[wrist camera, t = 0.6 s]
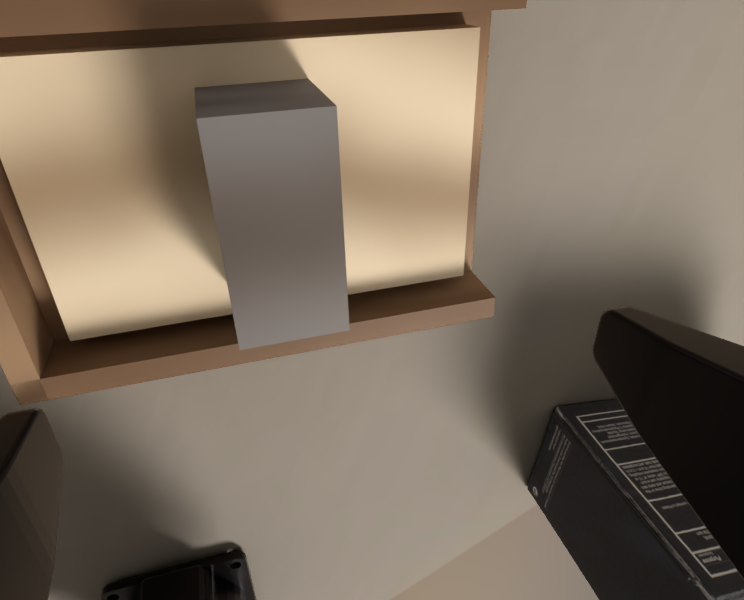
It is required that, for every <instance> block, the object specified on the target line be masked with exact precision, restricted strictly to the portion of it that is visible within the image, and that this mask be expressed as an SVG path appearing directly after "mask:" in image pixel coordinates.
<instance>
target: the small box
mask: <svg viewBox="0 0 744 600" xmlns="http://www.w3.org/2000/svg"><path fill="white" fill-rule="evenodd" d="M528 490H529V492H530V493H531V494H532V496H533V497H534V499H535V500H536V502H537V504H538V505H539V507H540V508H541V510H542V511H543V513H544V514H545V516H546V517H547V519H548V521H549V522H550V523H551V525H552V527H553V528H554V530H555V531H556V533H557V534H558V536H559V537H560V539H561V541H562V542H563V544H564V545H565V547H566V548H567V550H568V551H569V553H570V555H571V556H572V558H573V559H574V561H575V562H576V564H577V565H578V567H579V569H580V570H581V572H582V573H583V575H584V576H585V578H586V580H587V581H588V583H589V584H590V586H591V587H592V589H593V590H594V592H595V594H596V595H597V597H598V598H599V600H744V579H743V578H742V577H741V575H740V574H739V573H738V571H737V570H736V568H735V567H734V566H733V564H732V563H731V561H730V560H729V559H728V557H727V556H726V555H725V553H724V552H723V550H722V549H721V548H720V546H719V545H718V543H717V542H716V541H715V539H714V538H713V537H712V535H711V534H710V532H709V531H708V530H707V528H706V527H705V525H704V524H703V523H702V521H701V520H700V519H699V517H698V516H697V514H696V513H695V512H694V510H693V509H692V507H691V506H690V505H689V503H688V502H687V501H686V499H685V498H684V496H683V495H682V494H681V492H680V491H679V490H678V488H677V487H676V485H675V484H674V483H673V481H672V480H671V478H670V477H669V476H668V474H667V473H666V472H665V470H664V469H663V467H662V466H661V465H660V463H659V462H658V460H657V459H656V458H655V456H654V455H653V454H652V452H651V451H650V449H649V448H648V447H647V445H646V444H645V442H644V441H643V440H642V438H641V437H640V435H639V434H638V432H637V431H636V429H635V428H634V426H633V424H632V423H631V421H630V419H629V418H628V416H627V414H626V413H625V411H624V409H623V407H622V406H621V404H620V402H619V401H618V399H615V400H607V401H599V402H590V403H583V404H573V405H566V406H558V407H557V408H556V409H555V411H554V414H553V416H552V418H551V422H550V426H549V429H548V431H547V434H546V437H545V440H544V443H543V446H542V448H541V451H540V454H539V456H538V459H537V462H536V465H535V467H534V468H533V472H532V475H531V478H530V482H529V485H528Z"/></svg>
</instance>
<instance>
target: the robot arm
mask: <svg viewBox="0 0 744 600" xmlns="http://www.w3.org/2000/svg"><path fill="white" fill-rule="evenodd" d="M593 354H594V358H595V361H596V363H597V364H598V366H599V368H600V370H601V371H602V373H603V375H604V376H605V378H606V380H607V382H608V383H609V385H610V387H611V388H612V390H613V392H614V394H615V395H616V397H617V399H618V401H619V402H620V404H621V406H622V407H623V409H624V411H625V413H626V414H627V416H628V418H629V419H630V421H631V423H632V424H633V426H634V428H635V429H636V431H637V432H638V434H639V435H640V437H641V438H642V440H643V441H644V442H645V444H646V445H647V447H648V448H649V449H650V451H651V452H652V454H653V455H654V456H655V458H656V459H657V460H658V462H659V463H660V465H661V466H662V467H663V469H664V470H665V472H666V473H667V474H668V476H669V477H670V478H671V480H672V481H673V483H674V484H675V485H676V487H677V488H678V490H679V491H680V492H681V494H682V495H683V496H684V498H685V499H686V501H687V502H688V503H689V505H690V506H691V507H692V509H693V510H694V512H695V513H696V514H697V516H698V517H699V519H700V520H701V521H702V523H703V524H704V525H705V527H706V528H707V530H708V531H709V532H710V534H711V535H712V537H713V538H714V539H715V541H716V542H717V543H718V545H719V546H720V548H721V549H722V550H723V552H724V553H725V555H726V556H727V557H728V559H729V560H730V561H731V563H732V564H733V566H734V567H735V568H736V570H737V571H738V573H739V574H740V575H741V577H742V578H743V579H744V346H741V345H739V344H736V343H733V342H730V341H727V340H724V339H721V338H718V337H715V336H713V335H710V334H707V333H704V332H701V331H698V330H695V329H692V328H689V327H687V326H684V325H681V324H678V323H675V322H672V321H669V320H666V319H663V318H660V317H658V316H655V315H652V314H649V313H646V312H643V311H640V310H637V309H634V308H632V307H618V308H612V309H608V310H606V311H604V313H603V314H602V316H601V318H600V322H599V326H598V330H597V334H596V337H595V341H594V345H593ZM61 475H62V454H61V450H60V447H59V445H58V442H57V440H56V438H55V435H54V433H53V431H52V428H51V426H50V424H49V422H48V419H47V417H46V415H45V413H44V412H43V411H42V410H40V409H38V408H33V409H27V410H21V411H15V412H11V413H8V414H6V415H5V416H3V417H2V418H1V419H0V600H48V595H49V591H50V586H51V580H52V574H53V569H54V561H55V552H56V540H57V527H58V514H59V501H60V488H61ZM101 600H256V596H255V592H254V588H253V584H252V579H251V575H250V571H249V567H248V563H247V558H246V555H245V553H243V552H241V551H235V552H231V553H227V554H223V555H219V556H215V557H211V558H207V559H204V560H200V561H196V562H192V563H188V564H184V565H180V566H176V567H173V568H169V569H165V570H161V571H157V572H153V573H149V574H146V575H142V576H138V577H134V578H130V579H126V580H122V581H119V582H115V583H111V584H108V585H106V586H105V587H104V588H103V590H102V596H101Z"/></svg>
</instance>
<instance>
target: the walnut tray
mask: <svg viewBox="0 0 744 600" xmlns="http://www.w3.org/2000/svg"><path fill="white" fill-rule="evenodd" d="M526 2H527V0H0V52H14V51H30V50H46V49H63V48H79V47H96V46H112V45H129V44H145V43H162V42H178V41H195V40H211V39H227V38H244V37H260V36H277V35H293V34H310V33H326V32H343V31H359V30H376V29H392V28H408V27H425V26H441V25H458V24H468V25H473V26H477V27H480V40H479V55H478V70H477V84H476V99H475V114H474V128H473V143H472V158H471V172H470V187H469V202H468V217H467V231H466V246H465V261H464V275H463V276H457V277H451V278H445V279H439V280H433V281H427V282H421V283H415V284H409V285H403V286H397V287H391V288H385V289H379V290H373V291H367V292H361V293H355V294H349V295H348V310H349V327H350V330H349V331H343V332H338V333H332V334H327V335H321V336H316V337H310V338H305V339H299V340H294V341H288V342H283V343H277V344H272V345H266V346H261V347H255V348H250V349H244V350H239V344H238V339H237V334H236V328H235V323H234V318H233V314H230V315H224V316H218V317H212V318H206V319H200V320H194V321H188V322H182V323H176V324H170V325H164V326H158V327H152V328H146V329H140V330H134V331H128V332H122V333H116V334H110V335H104V336H98V337H92V338H86V339H80V340H74V341H70V339H69V337H68V334H67V332H66V329H65V326H64V324H63V321H62V318H61V316H60V313H59V311H58V308H57V305H56V303H55V300H54V297H53V295H52V292H51V290H50V287H49V284H48V282H47V279H46V277H45V274H44V271H43V269H42V266H41V263H40V261H39V258H38V256H37V253H36V250H35V248H34V245H33V242H32V240H31V237H30V235H29V232H28V229H27V227H26V224H25V222H24V219H23V216H22V214H21V211H20V208H19V206H18V203H17V201H16V198H15V195H14V193H13V190H12V187H11V185H10V182H9V180H8V177H7V174H6V172H5V169H4V167H3V164H2V161H1V159H0V365H1V367H2V369H3V371H4V373H5V375H6V377H7V379H8V382H9V384H10V386H11V388H12V390H13V392H14V394H15V396H16V398H17V400H18V403H19V405H24V404H29V403H34V402H40V401H45V400H50V399H56V398H61V397H67V396H72V395H77V394H83V393H88V392H93V391H99V390H104V389H109V388H115V387H120V386H125V385H131V384H136V383H141V382H147V381H152V380H157V379H163V378H168V377H173V376H179V375H184V374H190V373H195V372H200V371H206V370H211V369H216V368H222V367H227V366H232V365H238V364H243V363H248V362H254V361H259V360H264V359H270V358H275V357H280V356H286V355H291V354H297V353H302V352H307V351H313V350H318V349H323V348H329V347H334V346H339V345H345V344H350V343H355V342H361V341H366V340H371V339H377V338H382V337H387V336H393V335H398V334H403V333H409V332H414V331H420V330H425V329H430V328H436V327H441V326H446V325H452V324H457V323H462V322H468V321H473V320H478V319H484V318H489V317H493V316H494V306H495V297H494V295H493V294H492V293H491V292H490V291H489V290H488V289H487V288H486V287H485V286H484V285H483V284H482V282H481V281H480V280H479V279H478V278H477V277H476V276H475V275H474V274H473V273H472V272H471V271H472V258H473V245H474V232H475V219H476V206H477V193H478V180H479V167H480V154H481V141H482V127H483V114H484V101H485V88H486V75H487V62H488V49H489V36H490V23H491V10H503V9H521V8H526Z"/></svg>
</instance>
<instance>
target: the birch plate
mask: <svg viewBox="0 0 744 600" xmlns="http://www.w3.org/2000/svg"><path fill="white" fill-rule="evenodd" d="M479 40H480V27H477V26H473V25H468V24H458V25H441V26H425V27H408V28H392V29H376V30H359V31H343V32H326V33H310V34H293V35H277V36H260V37H244V38H227V39H211V40H195V41H178V42H162V43H145V44H129V45H112V46H96V47H79V48H63V49H46V50H30V51H14V52H0V159H1V161H2V164H3V167H4V169H5V172H6V174H7V177H8V180H9V182H10V185H11V187H12V190H13V193H14V195H15V198H16V201H17V203H18V206H19V208H20V211H21V214H22V216H23V219H24V222H25V224H26V227H27V229H28V232H29V235H30V237H31V240H32V242H33V245H34V248H35V250H36V253H37V256H38V258H39V261H40V263H41V266H42V269H43V271H44V274H45V277H46V279H47V282H48V284H49V287H50V290H51V292H52V295H53V297H54V300H55V303H56V305H57V308H58V311H59V313H60V316H61V318H62V321H63V324H64V326H65V329H66V332H67V334H68V337H69V339H70V341H74V340H80V339H86V338H92V337H98V336H104V335H110V334H116V333H122V332H128V331H134V330H140V329H146V328H152V327H158V326H164V325H170V324H176V323H182V322H188V321H194V320H200V319H206V318H212V317H218V316H224V315H230V314H233V318H234V323H235V328H236V334H237V339H238V344H239V350H244V349H250V348H255V347H261V346H266V345H272V344H277V343H283V342H288V341H294V340H299V339H305V338H310V337H316V336H321V335H327V334H332V333H338V332H343V331H349V330H350V327H349V310H348V295H349V294H355V293H361V292H367V291H373V290H379V289H385V288H391V287H397V286H403V285H409V284H415V283H421V282H427V281H433V280H439V279H445V278H451V277H457V276H463V275H464V261H465V246H466V231H467V217H468V202H469V187H470V172H471V158H472V143H473V128H474V114H475V99H476V84H477V70H478V55H479Z"/></svg>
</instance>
